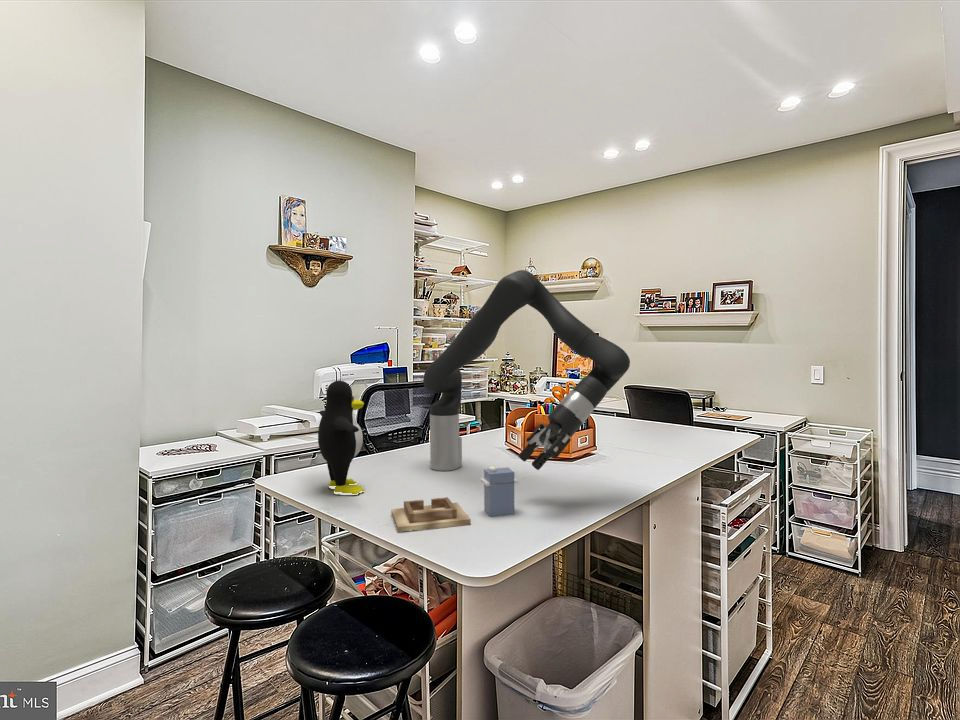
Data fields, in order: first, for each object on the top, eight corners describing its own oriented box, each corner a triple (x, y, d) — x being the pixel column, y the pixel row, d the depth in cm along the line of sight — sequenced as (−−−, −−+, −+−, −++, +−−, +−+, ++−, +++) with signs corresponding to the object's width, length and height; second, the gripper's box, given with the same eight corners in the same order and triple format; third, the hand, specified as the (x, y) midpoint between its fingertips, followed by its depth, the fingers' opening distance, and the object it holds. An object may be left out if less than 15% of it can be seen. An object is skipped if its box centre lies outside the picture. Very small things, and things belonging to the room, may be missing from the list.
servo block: (511, 507, 124) (511, 463, 123) (518, 513, 120) (517, 467, 119) (480, 511, 122) (480, 465, 121) (486, 517, 117) (485, 470, 117)
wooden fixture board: (457, 507, 124) (457, 494, 124) (470, 524, 113) (470, 510, 113) (391, 514, 120) (391, 500, 120) (397, 532, 108) (397, 517, 108)
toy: (387, 504, 127) (385, 384, 126) (336, 513, 121) (334, 387, 120) (347, 471, 159) (345, 375, 157) (306, 477, 153) (303, 377, 151)
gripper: (548, 399, 131) (507, 447, 128) (574, 406, 117) (528, 459, 115) (567, 419, 133) (526, 466, 130) (595, 428, 119) (550, 481, 116)
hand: (527, 463), depth 122 cm, fingers open, 8 cm apart
